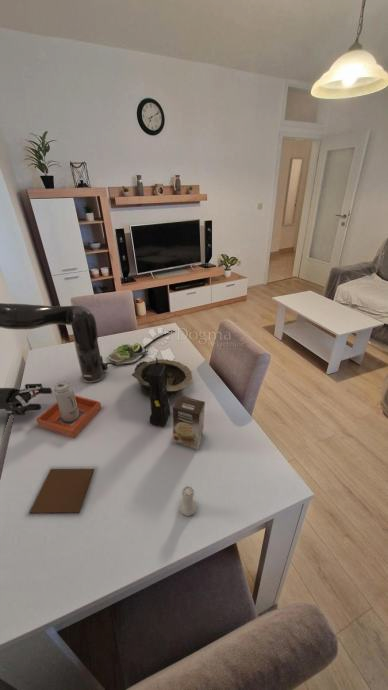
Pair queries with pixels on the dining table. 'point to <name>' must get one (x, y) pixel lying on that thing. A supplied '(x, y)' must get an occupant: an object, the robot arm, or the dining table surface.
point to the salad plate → (127, 353)
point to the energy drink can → (66, 401)
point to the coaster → (63, 491)
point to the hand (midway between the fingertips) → (46, 398)
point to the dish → (51, 423)
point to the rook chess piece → (187, 501)
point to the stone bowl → (174, 372)
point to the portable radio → (158, 394)
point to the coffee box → (188, 422)
